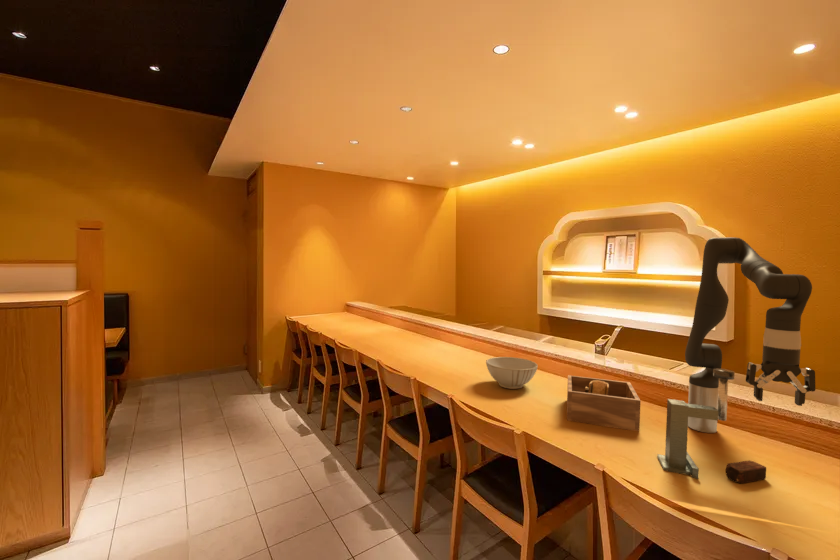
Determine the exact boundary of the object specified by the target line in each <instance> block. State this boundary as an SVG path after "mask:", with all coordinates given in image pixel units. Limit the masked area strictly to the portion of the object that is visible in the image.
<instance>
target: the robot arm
mask: <svg viewBox="0 0 840 560" xmlns="http://www.w3.org/2000/svg"><path fill="white" fill-rule="evenodd" d="M702 256H703V257H702V267H701V276H700V277H701V278H700V283H699V288H698V289H699V290H698V292H697V297H696V302H695V308H694V313H693V314H694V315H693V320H692V326H691V328H690V329H691V330H690V333H689V336H688V340H687V344H686V347H685V352H684V359H685V361H686V362H685V363H686V364H687V365H688V366H690V367H695V368H704V369H703V370H702V371H699V372H697V373H692V374H691V375H689V376H688V377H689V378H688V399H687V400H688V401H687V404H695V405H703V406H711V407H715V408H716V409H717V410H718V389H719V378H717V377H714V376H713V370H714V369H716V368H718V369H722V364H723V353H722V349H721V347H720V346H719V345H717V344H716V343H715V344H714V343H704V340H705V338H706V337H707V335H708V334H709V333H710V332H711V331H712V330H713V329H714V328H715V327H716V326H718V324H720V323H721V322H722V321H723V320H724V318H725V317H726V315H727V311H728V307H729V296H728V294H727V291H726V290H725V288H724V286H723V285H722V283H721V281H720V278H719V277H718V265H719V264H739V265H740V271H741V273H742V275H743V276H744V277H745V278H747V280H749V281H751V282H752V283H753V284H754V285H755V286H756V288H757V290H758V292H759V293H760V295H761V296H762V297H765V298H767V299H772V300H785V301H784V302H783V304H782V305H780V306H776V307H770V308H768V309H767V310H766V313H765V327H764V334H763V341H762V342H763V343H762V361H761V363H759V364H758V363H753V362H750V361H749V362H747V366H746V373H745V382H746V383H748V384H749V385H750V386H753V397H754V398H755V399H756V400H757V401H759V402H763V400H764V399H763V396H764V389H763V387H764V386H765V385H766V384H768V383H770V382H771V381H773V382H776V383H778V382H783V383H786V384H788V383H790V384H791V385H792V386H793V387H794V388H795V389H796V390H795V392H794V404H795V405H796V406H799V407H801V406H803V405H804V404H805V403H806V394H807V393H809V392H812V393H813V392H815V391H816V371H815V369H811V368H809V367H804V368H803V367H802V368H801V367H800V363H801V347H802V336H801V325H802V323H801V321H802V316H803V313H804V310H805V308H806V305H807V303H808V301H809V299H810V297H811V295H812V290H813V285H812V281H811V280H810V279H809V278H808V277H807V276H806V275H805V274H799V273H798V274H795V273H790V274H788V273H784V271H783V270H782V269H781V268H780V267H779V266H777V265H776V264H774V263H772V262H770V261H769V260H767V259H765V258H764V257H762V256H760V254H759V253H757V252H756V250H755V249H754V248H753V247H751V245H749V244H748V243H747V242H746V241H745V240H744V239H742V238H740V237H737V236H736V237H734V236H733V237H732V236H731V237H730V236H729V237H728V236H727V237H719V236H718V237H710V238H709V239H707V241H706V242H705V244H704V248H703V255H702ZM759 370H761V371H762V373H761V374H760V375H759V376H758V378H757V379H756V376H757V375H756V373H757V372H758V371H759ZM800 374H802V376H804V378H803V379H804V385H803V384H802V383H801V381H800V380H799V379H798V376H799V375H800ZM688 428H690V429H692V430H694V431H698V432H702V433H707V434H715V433H717V430H718V421H717V420H709V419H702V418H695V417H688Z"/></svg>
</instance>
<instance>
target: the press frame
mask: <svg viewBox="0 0 840 560" xmlns="http://www.w3.org/2000/svg"><path fill="white" fill-rule="evenodd" d="M666 403H667V404H666V422H665V423H666V424H665V425H666V426H665V428H666V429H665V448H664V449H665V450H664V451H665V452H664V453H665V454H658V453H657V455H656V456H657V459H658V461H659V464H660V466H661V467H662V470H663V471H665V472H671V473H676V474H682V475H686V476H691V478H692V479H696V480H697V479H699V467H698V466H697V464H696V463H695V462H694V460H693V459H692V456H691V455H690V454H689V452H688V432H689V429H688V428H689V427H688V417H695V418H702V419H709V420H717V422H718V421H719V419H718V410H717V409H716V408H715V407H711V406H703V405H695V404H688V402H686V401H684V400H678V399H671V398H667V402H666Z"/></svg>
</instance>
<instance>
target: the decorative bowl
mask: <svg viewBox="0 0 840 560" xmlns="http://www.w3.org/2000/svg"><path fill="white" fill-rule="evenodd" d="M485 364H486V367H487V368H486V369H487V371H488V372H489V374H490V376H491V378H492V379H494V381H496V383H498V385H499V386H500V387H502V388H505V389H511V390H518V389H522V388H523V387H524V386H525V385H526V384H528V383H529V382H530V381H531V380H532V379H533V378H534V376H535V375H536V373H537V370H538V363H536V362H535V361H532V360H529V359H527V358H526V359H525V358H521V357H513V356H497V357H490V358H487V359H486V361H485Z"/></svg>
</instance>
